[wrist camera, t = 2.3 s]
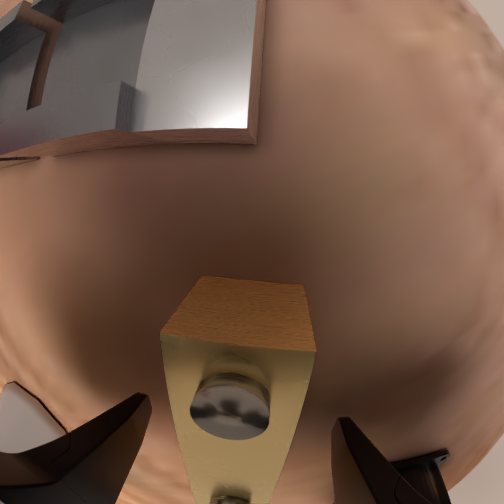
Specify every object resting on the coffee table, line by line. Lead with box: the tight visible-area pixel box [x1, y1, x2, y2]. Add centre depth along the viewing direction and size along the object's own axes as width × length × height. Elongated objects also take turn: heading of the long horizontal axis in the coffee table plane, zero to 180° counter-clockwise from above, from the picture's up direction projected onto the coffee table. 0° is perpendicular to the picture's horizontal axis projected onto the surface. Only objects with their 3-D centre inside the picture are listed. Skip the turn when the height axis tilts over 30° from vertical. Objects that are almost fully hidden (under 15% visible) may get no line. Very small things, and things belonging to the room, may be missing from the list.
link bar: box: [159, 275, 317, 504], centre depth 8 cm, size 10×3×4 cm, turn 176°
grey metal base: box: [0, 0, 266, 168], centre depth 5 cm, size 16×6×3 cm, turn 86°
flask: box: [0, 383, 66, 453], centre depth 8 cm, size 7×7×10 cm
